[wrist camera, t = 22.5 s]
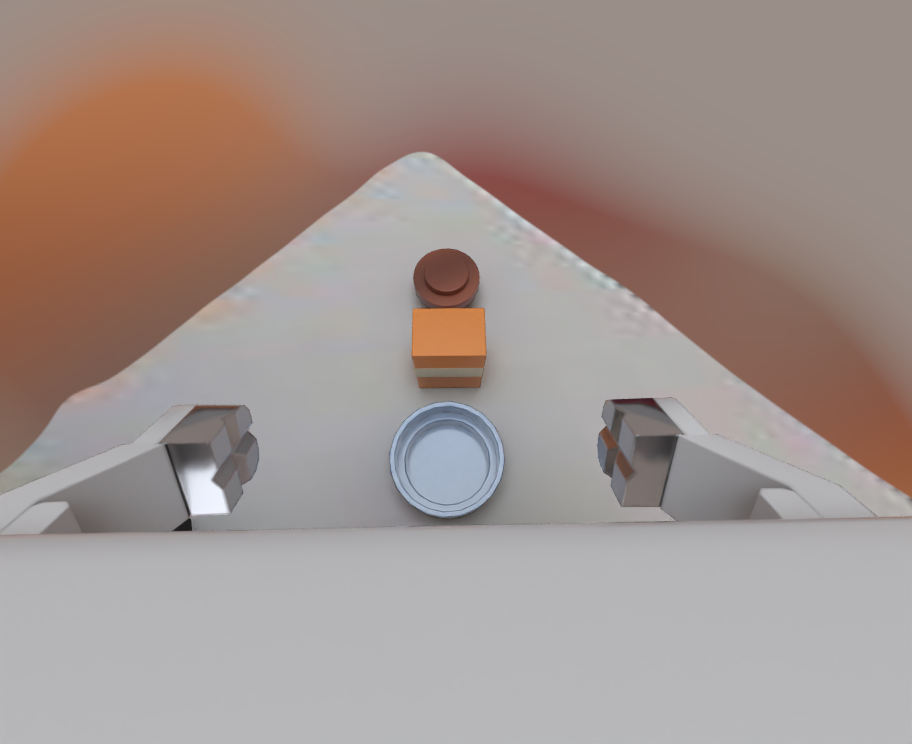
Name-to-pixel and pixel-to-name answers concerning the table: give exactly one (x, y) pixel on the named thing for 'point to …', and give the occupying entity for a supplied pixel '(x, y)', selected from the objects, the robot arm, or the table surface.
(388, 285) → the table surface
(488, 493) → the blue bowl
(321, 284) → the table surface
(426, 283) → the wooden mushroom
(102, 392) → the table surface
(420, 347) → the juice carton
